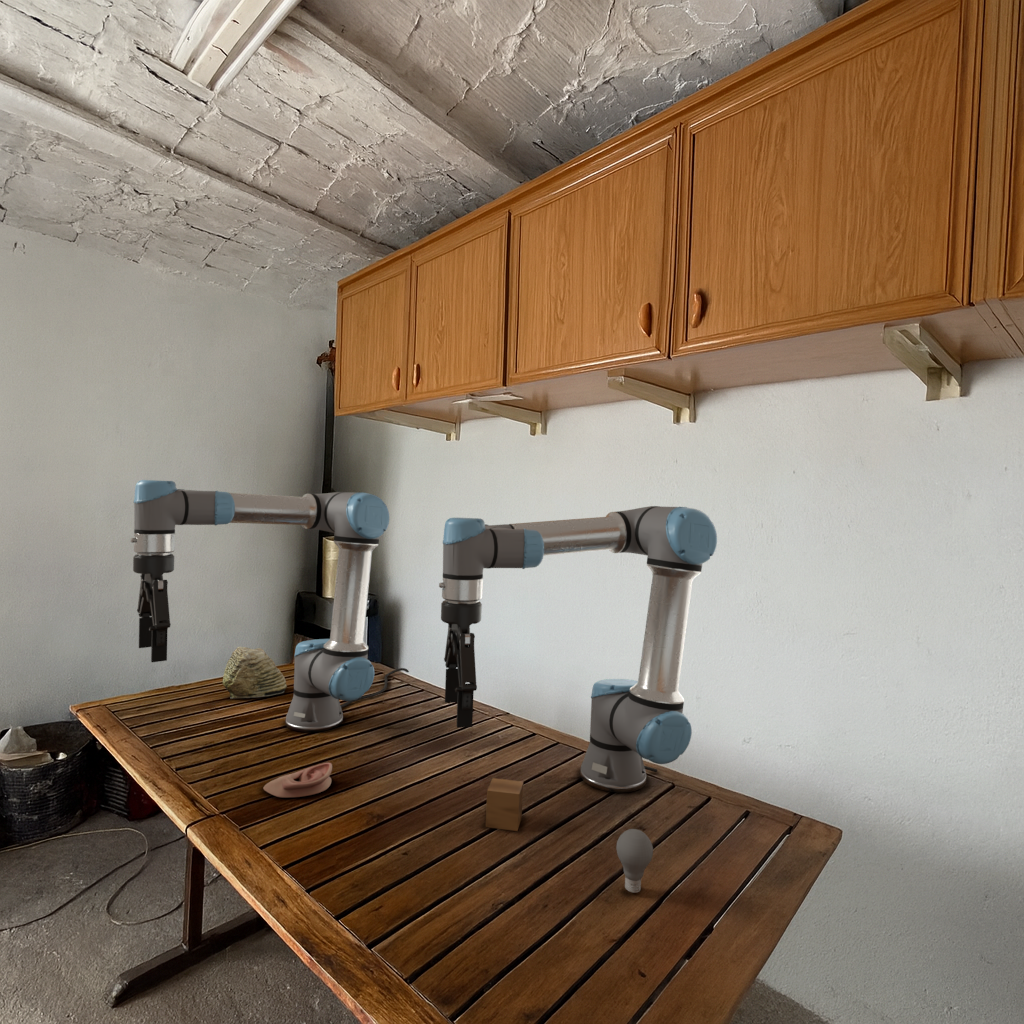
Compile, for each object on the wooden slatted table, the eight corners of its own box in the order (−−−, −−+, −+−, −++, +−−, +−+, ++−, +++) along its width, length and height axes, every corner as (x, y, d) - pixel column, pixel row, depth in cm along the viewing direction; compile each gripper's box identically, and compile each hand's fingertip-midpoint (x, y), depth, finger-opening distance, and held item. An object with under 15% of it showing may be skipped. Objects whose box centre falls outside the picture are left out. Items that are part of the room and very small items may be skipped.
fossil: (218, 695, 195) (220, 647, 195) (278, 685, 208) (279, 640, 207) (228, 703, 189) (230, 653, 188) (289, 692, 201) (290, 645, 201)
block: (491, 813, 130) (492, 778, 130) (521, 817, 129) (523, 781, 129) (485, 827, 124) (487, 790, 124) (517, 831, 123) (519, 794, 123)
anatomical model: (255, 775, 133) (285, 754, 145) (254, 793, 133) (285, 771, 145) (313, 783, 131) (339, 761, 142) (312, 802, 131) (338, 779, 142)
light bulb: (610, 879, 108) (613, 822, 108) (644, 879, 109) (647, 822, 109) (619, 902, 102) (622, 840, 102) (655, 901, 103) (658, 840, 103)
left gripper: (123, 548, 140) (121, 643, 141) (145, 560, 121) (143, 670, 122) (161, 547, 145) (159, 639, 146) (188, 558, 126) (186, 664, 126)
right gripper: (432, 590, 129) (429, 693, 129) (452, 613, 105) (448, 740, 105) (468, 590, 131) (465, 692, 131) (496, 612, 107) (492, 737, 107)
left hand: (152, 654), depth 134 cm, fingers open, 13 cm apart
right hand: (457, 713), depth 118 cm, fingers open, 13 cm apart
